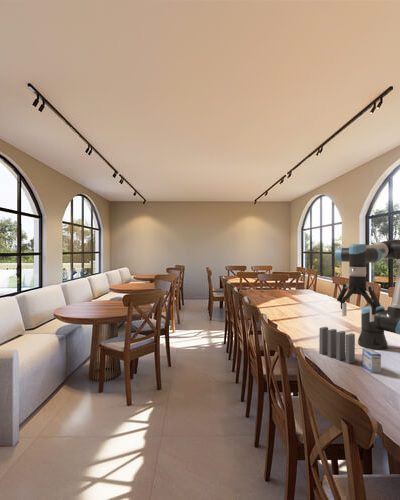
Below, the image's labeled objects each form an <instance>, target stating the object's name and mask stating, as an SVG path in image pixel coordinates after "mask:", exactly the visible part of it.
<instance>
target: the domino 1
mask: <svg viewBox="0 0 400 500" xmlns="http://www.w3.org/2000/svg"><path fill="white" fill-rule="evenodd" d="M328 330H329V327H328V326H322V327H319V340H318V341H319V344H318V345H319V347H318V348H319V351H318V352H319V355H326V354H328Z"/></svg>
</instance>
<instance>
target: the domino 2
mask: <svg viewBox="0 0 400 500" xmlns="http://www.w3.org/2000/svg"><path fill="white" fill-rule="evenodd" d="M336 332H338V331H337V329H336V328H331V329H328V353H327V357H328V358H334V357H336Z"/></svg>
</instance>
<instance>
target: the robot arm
mask: <svg viewBox="0 0 400 500" xmlns="http://www.w3.org/2000/svg"><path fill="white" fill-rule="evenodd" d="M334 259H335V260H336V261H337V262H343V263H344V262H346V263H347V262H348V263H349V264H348V270H349V271H348V274H349V276H348V282H349V283H343V284H342V288H341V291H340V292H339V294H338V296H337V299H336V302H338V303H340V309H341V314H342V315H341V317H347V316H348V315H347V301H348V299H349V298H350V297H351V296H352V295H359V296H361V297H363V298H364V299H365V300H366V302H367V303H368V305H367V306H363V307H362V308H361V313H360V314H361V315H360V317H361V321H360V322H361V325H360V327H361V328H360V329H361V331H360V335H359V336H358V340H357V344H358V345H359V346H361V347H363V348H365V349H372V350H381V351H382V350H386V349H388V347H389V346H388V341H387V338H386V336H385V332H389V333H393V334H396V335H400V239H389V240H384V241H378V242H376V243H374V244H365V243H352V244H350V245H349V247H338V248H336V249H335V250H334ZM381 259H390V260H396V262H397V263H398V270H397V275H396V280H395V285H394V290H393V295H392V300H391V304H390V305H388V306H387V309H386V308H385V307H384V306H383V305H381V303H380V301H379V299H378V297H377V294H376V293H375V291H374V290H375V289H374V286H367V276H366V275H367V264H369V263H371V264H372V263H373V264H375V263H377V262H380V261H381ZM348 289H349V290H348ZM347 291H348V292H347ZM367 291H368V292H367ZM346 292H347V293H346Z"/></svg>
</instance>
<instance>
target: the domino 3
mask: <svg viewBox="0 0 400 500" xmlns="http://www.w3.org/2000/svg"><path fill="white" fill-rule="evenodd" d="M335 357H336V358H335V359H336V360H337V361H343V360H346V331H344V330H342V331H341V330H340V331H337V332H336V356H335Z"/></svg>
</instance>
